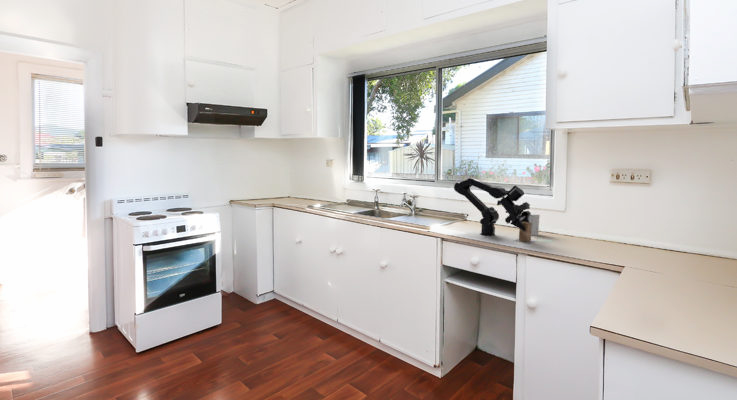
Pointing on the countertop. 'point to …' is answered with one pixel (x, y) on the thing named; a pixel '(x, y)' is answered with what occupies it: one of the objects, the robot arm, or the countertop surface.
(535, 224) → the cup
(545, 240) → the ceramic tile
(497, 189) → the robot arm
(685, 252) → the countertop surface
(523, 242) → the silicone mat
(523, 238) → the walnut block
